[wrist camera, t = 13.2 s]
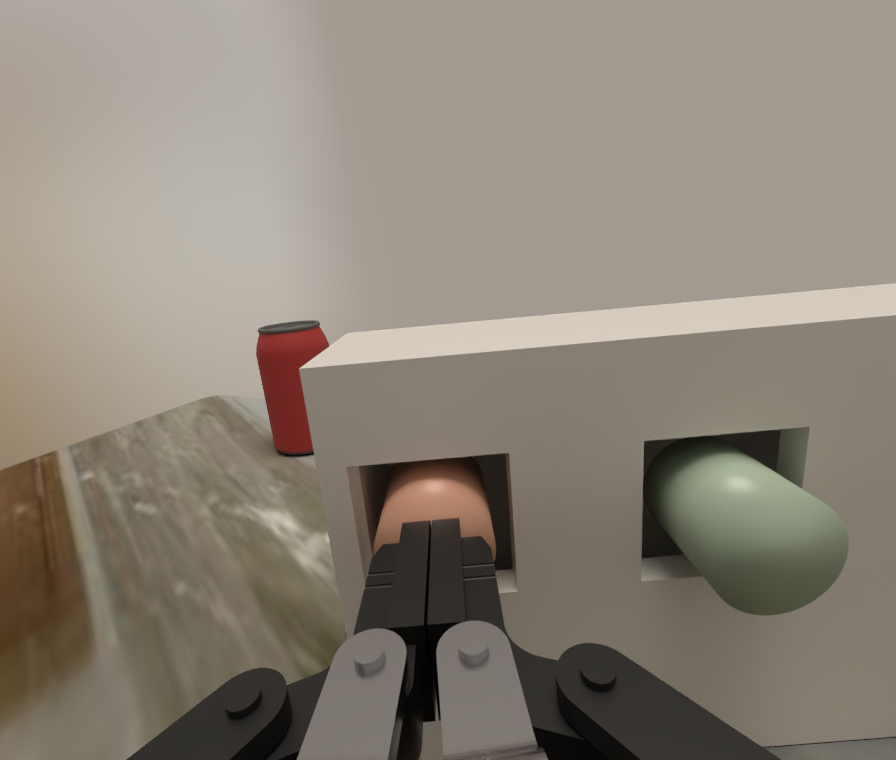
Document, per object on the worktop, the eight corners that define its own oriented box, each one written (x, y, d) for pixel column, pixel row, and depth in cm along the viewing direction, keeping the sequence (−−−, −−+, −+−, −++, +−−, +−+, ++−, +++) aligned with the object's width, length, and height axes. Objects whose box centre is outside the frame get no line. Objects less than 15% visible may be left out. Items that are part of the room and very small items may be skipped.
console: (371, 777, 15) (298, 368, 11) (391, 633, 21) (347, 333, 17) (1042, 725, 15) (1180, 289, 11) (871, 593, 20) (927, 280, 17)
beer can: (296, 463, 41) (271, 332, 38) (264, 448, 45) (239, 329, 42) (356, 439, 45) (338, 320, 42) (321, 427, 50) (303, 318, 47)
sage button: (705, 621, 11) (713, 501, 10) (641, 533, 14) (643, 439, 13) (839, 609, 11) (857, 489, 10) (742, 524, 14) (750, 430, 13)
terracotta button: (382, 607, 12) (366, 501, 11) (395, 530, 16) (383, 445, 15) (499, 597, 12) (491, 490, 11) (487, 522, 16) (480, 437, 15)
